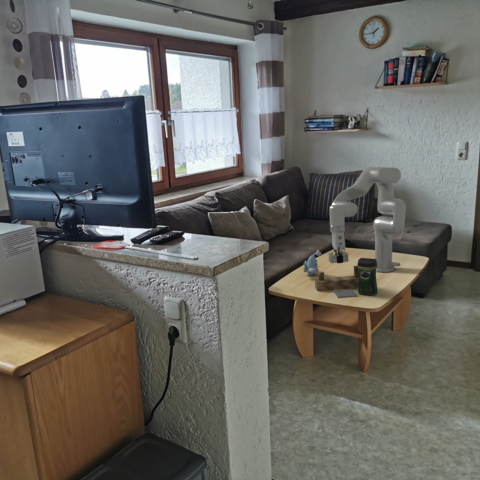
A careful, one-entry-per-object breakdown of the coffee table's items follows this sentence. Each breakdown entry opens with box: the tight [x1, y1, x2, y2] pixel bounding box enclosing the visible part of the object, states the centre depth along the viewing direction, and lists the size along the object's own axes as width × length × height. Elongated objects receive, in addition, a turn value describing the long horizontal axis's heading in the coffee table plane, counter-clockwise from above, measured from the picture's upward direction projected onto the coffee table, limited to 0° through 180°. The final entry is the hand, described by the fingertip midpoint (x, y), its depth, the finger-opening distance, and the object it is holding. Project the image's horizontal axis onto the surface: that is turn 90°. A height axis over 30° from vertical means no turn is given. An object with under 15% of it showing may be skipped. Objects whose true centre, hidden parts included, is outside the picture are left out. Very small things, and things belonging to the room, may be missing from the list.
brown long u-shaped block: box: [314, 265, 359, 292], centre depth 261 cm, size 26×6×11 cm, turn 93°
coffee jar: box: [356, 257, 379, 296], centre depth 248 cm, size 10×8×19 cm
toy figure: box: [302, 249, 322, 276], centre depth 284 cm, size 17×10×15 cm, turn 168°
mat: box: [333, 288, 359, 299], centre depth 251 cm, size 10×9×1 cm
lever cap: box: [328, 250, 349, 264], centre depth 258 cm, size 9×6×5 cm, turn 93°
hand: (338, 260), depth 259 cm, fingers closed on lever cap, 6 cm apart
